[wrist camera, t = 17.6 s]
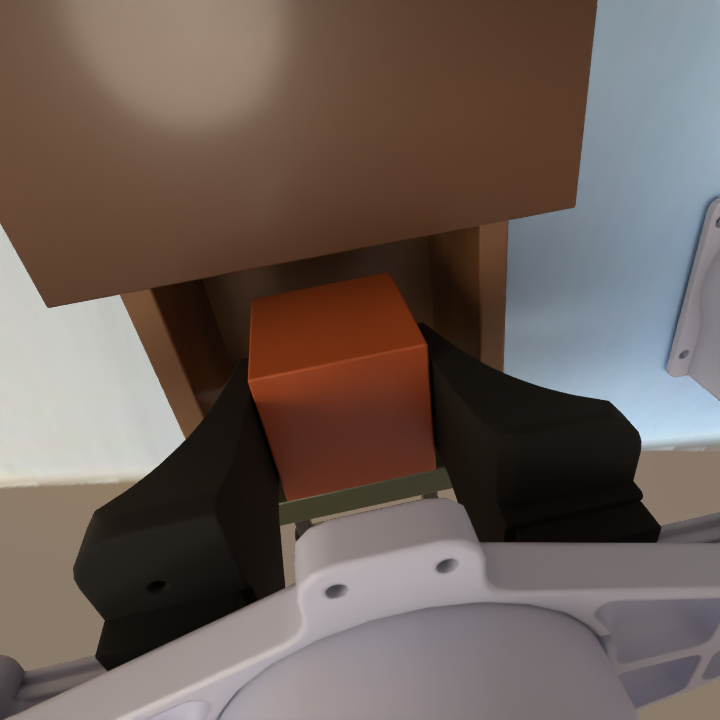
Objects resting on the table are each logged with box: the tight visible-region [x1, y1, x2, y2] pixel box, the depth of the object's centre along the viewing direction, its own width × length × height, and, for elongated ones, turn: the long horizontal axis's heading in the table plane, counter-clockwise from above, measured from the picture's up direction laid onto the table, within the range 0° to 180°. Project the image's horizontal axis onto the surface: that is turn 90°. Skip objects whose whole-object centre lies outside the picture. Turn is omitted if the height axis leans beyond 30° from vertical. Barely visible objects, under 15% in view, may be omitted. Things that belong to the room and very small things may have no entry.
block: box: [248, 272, 436, 501], centre depth 14 cm, size 4×4×4 cm
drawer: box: [120, 220, 508, 542], centre depth 18 cm, size 18×11×7 cm, turn 8°
